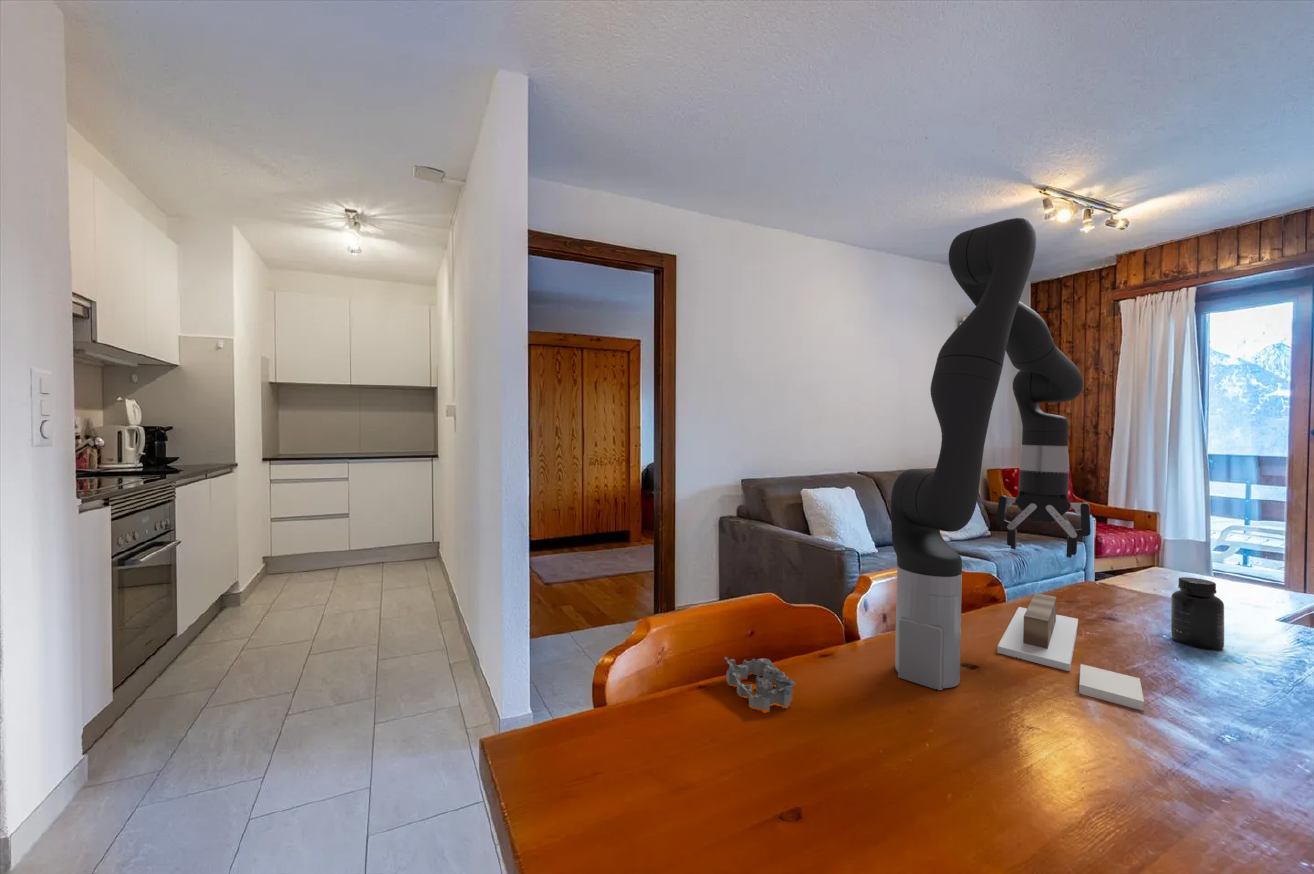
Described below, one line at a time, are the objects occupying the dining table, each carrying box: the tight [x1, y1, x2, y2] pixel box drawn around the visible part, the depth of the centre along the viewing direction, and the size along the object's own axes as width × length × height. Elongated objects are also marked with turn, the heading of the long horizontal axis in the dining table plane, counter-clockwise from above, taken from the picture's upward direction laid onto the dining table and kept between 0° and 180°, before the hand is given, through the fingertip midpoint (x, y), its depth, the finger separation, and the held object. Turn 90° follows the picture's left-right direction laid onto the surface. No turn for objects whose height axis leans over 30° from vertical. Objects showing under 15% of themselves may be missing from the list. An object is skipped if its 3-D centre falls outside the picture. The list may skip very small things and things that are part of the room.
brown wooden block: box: [1023, 592, 1057, 649], centre depth 95 cm, size 18×4×5 cm, turn 137°
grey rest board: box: [996, 606, 1079, 672], centre depth 95 cm, size 28×10×1 cm, turn 137°
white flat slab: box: [1078, 663, 1145, 711], centre depth 76 cm, size 2×7×9 cm
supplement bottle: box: [1170, 576, 1225, 651], centre depth 94 cm, size 7×7×12 cm
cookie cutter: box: [723, 656, 798, 711], centre depth 74 cm, size 11×8×4 cm
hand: (1040, 552), depth 96 cm, fingers open, 8 cm apart
